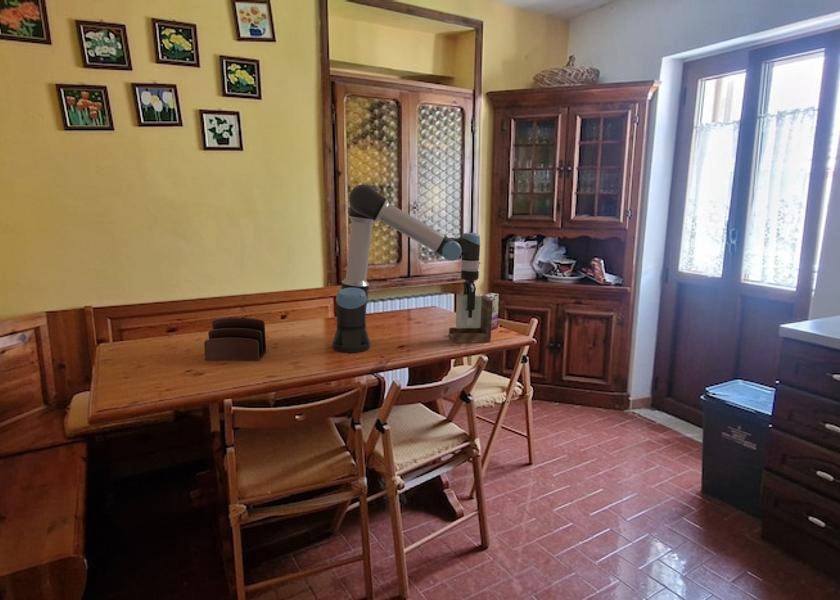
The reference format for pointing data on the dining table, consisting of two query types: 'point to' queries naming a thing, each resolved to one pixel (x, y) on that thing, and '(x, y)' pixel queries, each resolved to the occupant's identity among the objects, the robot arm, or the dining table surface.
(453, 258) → the robot arm
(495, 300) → the candy bar box
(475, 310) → the door panel
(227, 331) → the letter holder
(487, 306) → the track
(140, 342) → the dining table surface
